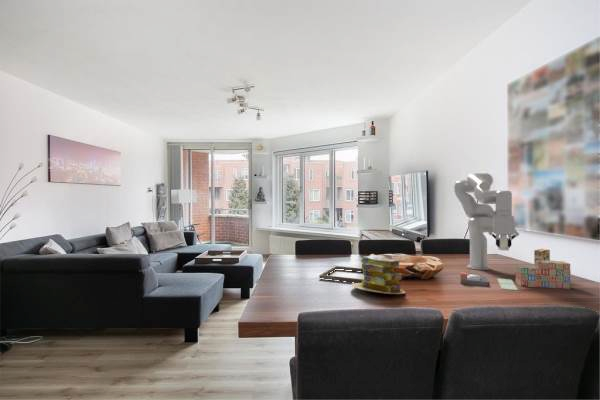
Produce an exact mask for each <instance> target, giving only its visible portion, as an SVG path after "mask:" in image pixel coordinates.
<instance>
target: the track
mask: <svg viewBox="0 0 600 400" xmlns="http://www.w3.org/2000/svg"><path fill="white" fill-rule="evenodd" d="M497 281H498V283H499V287H500V288H501V290H506V291H507V290H508V291H515V292H516V291H517V292H518V291H519V289H518V288H517V286H516V285H515V283H514V281H513V280H512V279H507V278H497Z"/></svg>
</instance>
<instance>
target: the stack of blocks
mask: <svg viewBox="0 0 600 400" xmlns="http://www.w3.org/2000/svg"><path fill="white" fill-rule="evenodd" d="M571 273H572V272H571V263H568V262H566V261H561V260H560V261H557V260H550V261H540V260H536V266H535V265H515V283H516V284H517V285H518V286H520V287H528V288H529V287H530V288H531V287H532V288H553V289H568V290H570V289H571Z"/></svg>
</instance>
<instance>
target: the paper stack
mask: <svg viewBox="0 0 600 400" xmlns="http://www.w3.org/2000/svg"><path fill="white" fill-rule="evenodd" d="M360 262H361V268H362V270H363V273H362V274H363V276H364V277H363V279H364V280H362V283H350V286H351V287H353V288H356V289H359V290H362V291H365V293H366V294H367V293H368V292H372V293H373V292H374V293H380V294H390V295H402V294H405V293H406V291H405V290H404V289H401V285H402V284H401V283H399V281H400V280H402V278H403V273H400V272H396V271H395V268H398V267H399V266H400V260H399V259H390V258H386V257H383V256H379V255H376V254H374V253H371V254H370V255H368V256H367V255H365V256H364V255H363V256H362V257H361V260H360ZM394 271H395V272H394Z"/></svg>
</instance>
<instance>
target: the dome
mask: <svg viewBox="0 0 600 400" xmlns="http://www.w3.org/2000/svg"><path fill="white" fill-rule="evenodd" d="M467 275H468V276H467V279H472V280H481V277H479V276H480V275H477V274H467Z"/></svg>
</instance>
